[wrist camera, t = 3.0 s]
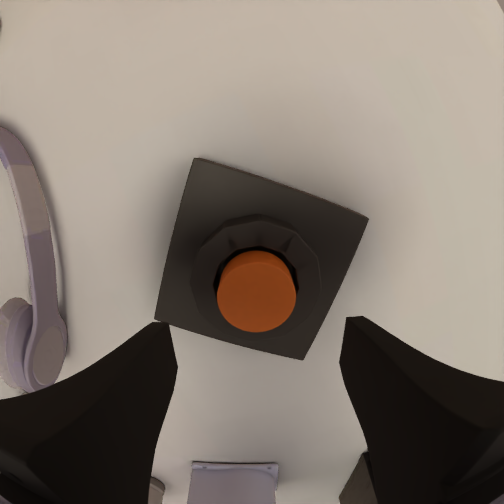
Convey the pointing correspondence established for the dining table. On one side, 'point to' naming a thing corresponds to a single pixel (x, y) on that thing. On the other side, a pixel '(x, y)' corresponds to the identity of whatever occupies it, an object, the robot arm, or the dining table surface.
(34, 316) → the headphones
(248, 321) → the stop button
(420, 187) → the dining table surface
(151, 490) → the travel mug
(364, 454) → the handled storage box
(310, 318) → the block
